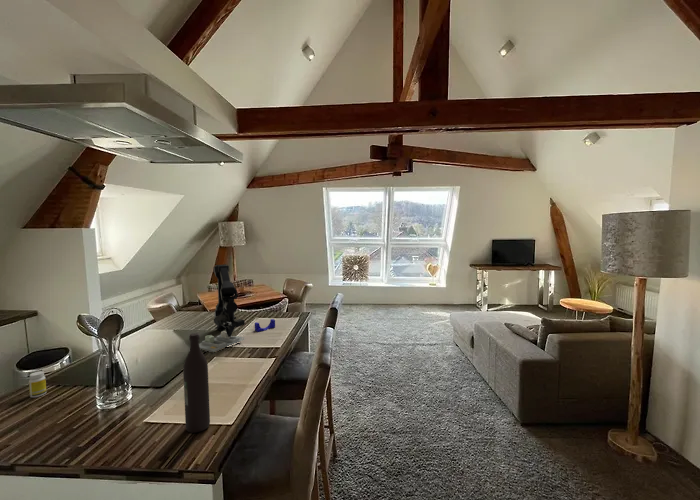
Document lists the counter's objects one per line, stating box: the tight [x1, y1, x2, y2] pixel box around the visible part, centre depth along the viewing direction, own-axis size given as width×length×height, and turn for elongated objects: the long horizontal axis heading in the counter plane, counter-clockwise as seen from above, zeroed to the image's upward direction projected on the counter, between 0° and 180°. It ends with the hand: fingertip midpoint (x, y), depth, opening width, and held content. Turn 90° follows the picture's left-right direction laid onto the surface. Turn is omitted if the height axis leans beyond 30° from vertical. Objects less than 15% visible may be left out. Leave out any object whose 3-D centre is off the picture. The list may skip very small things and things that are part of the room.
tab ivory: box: [220, 330, 230, 339], centre depth 189 cm, size 4×3×4 cm, turn 60°
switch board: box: [199, 334, 245, 353], centre depth 184 cm, size 16×22×3 cm
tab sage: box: [204, 334, 215, 343], centre depth 182 cm, size 4×3×4 cm, turn 60°
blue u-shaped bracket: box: [254, 318, 276, 333], centre depth 207 cm, size 12×4×6 cm, turn 131°
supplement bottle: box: [28, 370, 48, 398], centre depth 130 cm, size 5×5×8 cm
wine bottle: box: [182, 332, 211, 434], centre depth 107 cm, size 7×7×30 cm
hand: (229, 336), depth 187 cm, fingers closed
